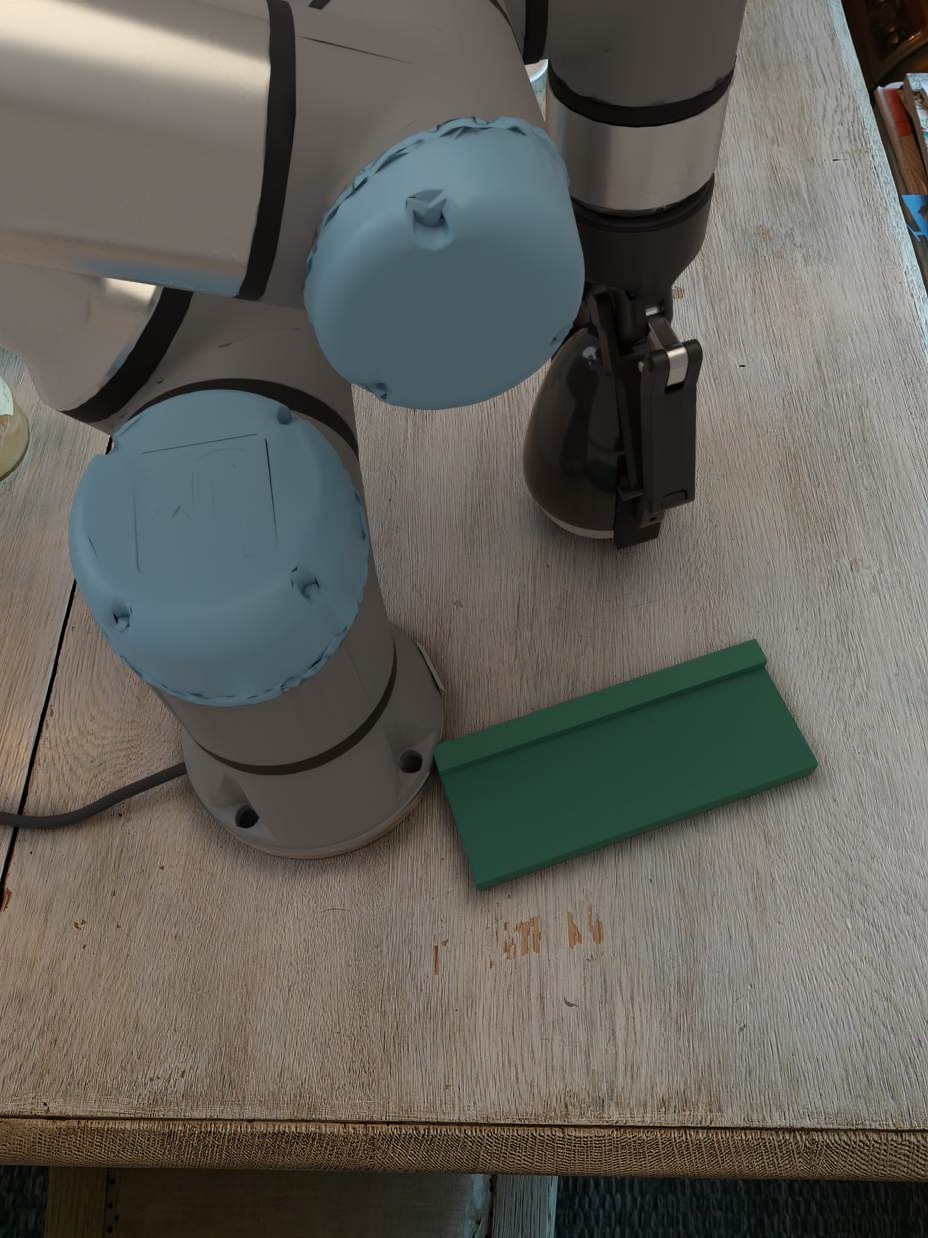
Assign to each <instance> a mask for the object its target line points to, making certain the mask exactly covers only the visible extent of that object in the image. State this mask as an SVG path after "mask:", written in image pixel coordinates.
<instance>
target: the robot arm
mask: <svg viewBox="0 0 928 1238" xmlns="http://www.w3.org/2000/svg"><path fill="white" fill-rule="evenodd" d="M747 2H748V0H0V348H1V349H3V350H5V351H7V352H9V353H12V354H14V355H16V356H18V357H20V358H21V359H22V361H23V362H24V364H25V366H26V369H27V371H28V373H29V376H30V378H31V380H32V384H33V385H34V389H35V391H36V393H37V396H38V397H39V400H40V401H41V402H42V403H43V404H44V405H46V406H47V407H49V408H50V409H53V410H54V411H57V412H59V413H61V414H63V415H65V416H68V417H69V418H72V419H74V420H76V421H78V422H81V423H83V424H85V425H88V426H89V427H92V428H93V429H96V430H98V431H100V432H102V433H104V434H106V435H108V436H109V437H110V438H111V439H112V443H113V447H112V449H111V450H110V451H109V452H108V453H107V454H95V455H93V457H92V458H91V459H90V462H89V463H88V465H87V466H86V468H85V470H84V471H83V473H82V476H81V478H80V480H79V482H78V485H77V487H76V490H75V493H74V496H73V498H72V503H71V507H70V512H69V519H68V534H67V536H68V537H67V539H68V540H67V542H68V550H69V559H70V566H71V568H72V572H73V575H74V579H75V582H76V585H77V587H78V589H79V592H80V594H81V597H82V598H83V600H84V602H85V604H86V605H87V607H88V609H89V610H90V611H91V614H92V617H93V620H94V623H95V625H96V627H97V628H98V629H99V631H101V634H102V636H103V638H104V639H105V641H106V642H107V643H108V644H109V645H110V647H111V648H112V650H113V652H114V653H115V655H116V656H117V657H118V659H120V661H122V662H123V663H124V664H125V665H126V666H127V667H128V668H130V670H132V671H133V673H135V674H136V675H137V676H138V677H139V678H140V679H141V680H142V681H143V682H144V683H145V684H146V685H147V686H148V688H149V689H150V690H151V691H152V692H153V693H154V695H155V696H156V697H157V698H158V699H159V701H160V702H161V703H162V704H163V706H164V707H165V708H166V709H167V710H168V712H169V713H170V714H171V715H172V716H173V718H174V719H175V720H176V721H177V723H178V724H179V725H180V726H181V744H182V745H181V746H182V747H181V749H182V750H181V751H182V757H183V761H181V762H179V763H177V764H174V765H171V766H169V767H166V768H165V769H163V770H162V769H161V770H160V771H158V772H155V773H153V774H150V775H148V776H146V777H143V778H141V779H139V780H136V781H134V782H132V783H128V784H127V785H125V786H123V787H122V786H121V787H120V788H118V789H116V790H114V791H112V792H110V793H108V794H106V795H105V796H102V797H100V798H98V799H97V800H95V801H93V802H91V803H89V804H87V805H85V806H83V807H80V808H78V809H75V810H72V811H69V812H65V813H60V814H54V815H53V814H52V815H38V816H37V815H23V814H16V813H11V812H6V811H2V810H1V811H0V825H4V826H9V827H16V828H23V829H35V830H37V829H39V830H41V829H43V830H44V829H54V828H62V827H67V826H71V825H75V824H78V823H80V822H83V821H86V820H88V819H91V818H93V817H95V816H97V815H99V814H101V813H103V812H105V811H106V810H108V809H111V808H112V807H114V806H116V805H117V804H121V803H122V802H124V801H126V800H128V799H130V798H132V797H135V796H137V795H140V794H142V793H144V792H146V791H149V790H151V789H153V788H156V787H159V786H161V785H163V784H165V783H168V782H171V781H173V780H175V779H177V778H180V777H183V776H184V775H187V778H188V781H189V783H190V786H191V788H192V789H193V791H194V793H195V796H196V797H197V798H198V800H199V801H200V803H201V804H202V806H203V807H204V808H205V809H206V811H207V812H208V813H209V814H210V815H211V817H212V818H213V819H214V820H215V821H216V822H217V823H218V824H219V825H220V826H221V827H222V828H224V830H225V831H227V833H229V834H230V835H232V836H233V837H234V838H236V839H237V840H238V841H239V842H242V843H243V844H245V845H247V846H249V847H251V848H253V849H255V850H258V851H259V852H263V853H266V854H269V855H271V856H275V857H281V858H287V859H296V860H317V859H326V858H330V857H335V856H340V855H343V854H347V853H350V852H353V851H356V850H359V849H361V848H363V847H365V846H367V845H369V844H371V843H373V842H375V841H377V840H378V839H380V838H382V837H383V836H385V835H386V834H388V833H389V832H390V831H392V830H393V829H394V828H396V827H397V826H398V825H400V823H402V821H403V822H404V820H405V819H406V818H407V817H408V816H409V815H410V814H411V813H412V812H413V811H414V810H415V808H416V807H417V806H418V805H419V804H420V802H421V801H422V799H423V798H424V797H425V795H426V793H427V792H428V790H429V788H431V785H432V784H433V781H434V779H435V777H436V774H437V773H438V771H437V766H436V762H435V759H434V755H433V753H434V750H435V747H436V745H438V744H441V743H444V742H446V725H447V724H446V713H445V708H444V702H443V698H442V697H443V696H442V691H443V692H444V693H447V691H446V689H445V686H444V684H443V682H442V681H441V679H440V677H439V675H438V673H437V671H436V669H435V667H434V665H433V663H432V661H431V658H430V657H429V654H428V653H427V650H426V648H425V647H424V646H423V645H422V644H421V643H419V642H418V641H416V643H417V644H416V643H415V642H414V641H413V640H412V639H411V638H410V637H409V636H408V635H407V634H406V633H405V632H403V631H402V630H400V628H398V627H397V626H395V625H394V624H393V623H392V622H390V619H389V615H388V612H387V607H386V605H385V600H384V597H383V594H382V590H381V586H380V582H379V578H378V571H377V567H376V562H375V556H374V550H373V544H372V538H371V531H370V524H369V518H368V516H369V515H368V510H367V502H366V496H365V489H364V482H363V481H364V480H363V475H362V474H363V473H362V470H361V461H360V448H359V441H358V431H357V423H356V415H355V405H354V398H353V389H352V385H356V386H357V387H359V388H361V389H363V390H365V391H367V392H369V393H370V394H373V395H374V396H375V398H376V399H377V400H378V401H379V402H383V403H385V404H388V405H390V406H393V407H394V406H395V407H399V408H404V409H408V410H409V409H410V410H421V411H442V410H448V409H449V410H450V409H457V408H462V407H469V406H473V405H476V404H480V403H483V402H486V401H489V400H492V399H493V398H495V397H498V396H500V395H502V394H505V393H506V392H508V391H510V390H512V389H514V388H515V387H518V385H520V384H522V383H523V382H525V381H526V380H527V379H529V378H530V377H531V376H533V375H534V374H535V373H537V372H538V371H539V370H540V369H542V367H543V366H544V365H545V364H546V363H547V362H548V361H549V360H550V364H551V363H552V361H553V359H554V358H555V356H556V354H557V353H558V351H559V350H560V348H561V347H562V346H563V344H564V343H565V342H566V340H567V339H568V338H569V337H570V336H571V335H572V334H573V333H574V332H575V331H576V330H578V329H579V328H580V327H582V326H583V325H584V324H586V323H588V322H589V321H590V315H591V320H592V323H593V324H594V325H595V326H596V327H597V329H598V334H599V341H600V348H601V354H602V361H603V367H604V370H605V372H606V373H608V374H609V375H611V376H612V377H614V379H615V386H616V393H617V400H618V407H619V414H620V420H621V427H622V434H623V441H624V448H625V455H626V462H627V469H628V475H625V476H622V477H621V479H620V486H617V490H618V493H619V495H618V503H617V511H616V519H615V527H614V536H613V538H612V543H613V545H614V547H615V548H616V549H615V550H616V551H617V552H619V551H621V550H624V549H628V548H631V547H634V546H637V545H640V544H644V543H646V542H649V541H652V540H655V539H658V538H659V535H660V531H661V525H662V521H663V520H664V519H665V515H666V511H667V510H670V509H675V508H678V507H680V506H683V505H686V504H690V503H692V502H693V503H694V501H695V500H696V463H697V462H696V461H697V460H696V459H697V458H696V456H697V455H696V453H697V452H696V451H697V449H696V448H697V397H698V396H697V393H698V392H697V385H698V382H699V377H700V373H701V370H702V365H703V361H704V350H703V347H702V345H701V342H700V341H699V340H698V339H697V338H692V339H689V340H688V339H687V340H685V341H682V342H681V341H680V339H679V338H678V336H677V334H676V333H675V331H674V329H673V328H672V322H673V319H674V298H673V297H674V296H673V285H674V284H675V283H676V281H677V280H678V278H679V277H680V276H681V275H682V273H683V272H684V271H685V270H686V269H687V268H688V267H689V266H690V264H691V263H692V262H694V260H695V259H696V258H697V256H698V254H699V253H700V251H701V250H702V247H703V244H704V241H705V238H706V233H707V229H708V228H707V227H708V222H709V218H710V217H709V216H710V212H711V207H712V206H711V205H712V199H713V194H714V190H715V189H714V188H715V183H716V177H715V171H716V168H717V165H718V161H719V155H720V150H721V149H720V148H721V145H722V138H723V133H724V132H723V131H724V127H725V121H726V120H725V119H726V115H727V107H728V102H729V97H730V92H731V91H730V90H732V89H733V87H734V84H735V81H736V80H735V79H736V77H735V68H736V63H737V57H738V55H737V52H738V46H739V41H740V37H741V31H742V27H743V23H744V22H743V21H744V17H745V12H746V8H747ZM544 60H547V67H546V71H545V105H544V106H545V107H544V108H545V109H544V110H545V112H544V113H545V114H544V115H543V113H542V109H541V108H540V105H539V102H538V99H537V96H536V93H535V90H534V88H533V85H532V82H531V79H530V76H529V74H528V70H527V68H526V66H529V65H534V64H535V65H536V64H539V63H540V61H544ZM589 313H590V315H589ZM647 342H648V344H649V349H646V350H642V351H639V352H636V353H632V354H629V355H626V356H622V357H619V352H618V349H620V350H624V349H628V348H632V347H635V346H638V345H642V344H645V343H647ZM441 690H442V691H441Z"/></svg>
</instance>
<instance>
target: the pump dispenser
mask: <svg viewBox="0 0 928 1238" xmlns="http://www.w3.org/2000/svg"><path fill="white" fill-rule="evenodd" d="M589 315H590V313H589ZM646 349H649V344H648V342H647V343H645V344H642V345H638V346H635V347H632V348H628V349H624V350H620V349H618V352H619V357H622V356H626V355H629V354H632V353H636V352H639V351H642V350H646ZM522 447H523V448H522V475H523V478H524V483H525V486H526V487H527V489H528V492H529V493H530V495H531V496H532V498H533V500H534V501H535V502H536V503H537V504H538V506H539V507H540V509H541V511H543V512H544V513H545V515H546V516H547V517H548V518H549V519H550V520H551V521H552V522H554V523H556V525H557V526H559V527H561V528H563V529H564V530H566V531H568V532H570V533H572V534H574V535H577V536H581V537H584V538H590V539H602V540H603V539H604V540H605V539H613V536H614V527H615V519H616V511H617V503H618V495H619V493H618V490H617V486H620V479H621V477H622V476H625V475H628V469H627V462H626V455H625V448H624V441H623V434H622V427H621V420H620V414H619V407H618V400H617V393H616V386H615V379H614V377H612V376H611V375H609V374H608V373H606V372H605V370H604V367H603V361H602V354H601V348H600V341H599V334H598V329H597V327H596V326H595V325H594V324H593V323H592V320H591V315H590V321H589V322H588V323H586V324H584V325H583V326H582V327H580V328H579V329H578V330H576V331H575V332H574V333H573V334H572V335H571V336H570V337H569V338H568V339H567V340H566V342H565V343H564V344H563V346H562V347H561V348H560V350H559V351H558V353H557V354H556V356H555V358H554V359H553V361H552V363H551V362H550V364H549V366H548V368H547V370H546V372H545V375H544V377H543V379H542V382H541V384H540V385H539V388H538V391H537V393H536V396H535V399H534V402H533V405H532V408H531V411H530V415H529V419H528V422H527V427H526V431H525V436H524V441H523V446H522Z"/></svg>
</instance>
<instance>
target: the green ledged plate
mask: <svg viewBox="0 0 928 1238" xmlns="http://www.w3.org/2000/svg"><path fill="white" fill-rule="evenodd" d="M767 663H768V658H767V657H766V654H765V653H764V651H763V649H762V647H761V646H760V644H759V641H758V640H757V639H756V638H752V639H750V640H746V641H743V642H740V643H737V644H734V645H731V646H728V647H725V648H722V649H719V650H716V651H713V652H710V653H707V654H704V655H701V656H699V657H695V658H691V659H688V660H685V661H683V662H680V663H677V664H674V665H671V666H668V667H666V668H661V669H659V670H656V671H653V672H649V673H647V674H643V675H641V676H638V677H635V678H633V679H630V680H627V681H623V682H620V683H618V684H617V683H616V684H615V685H611V686H608V687H605V688H602V689H599V690H596V691H593V692H590V693H588V694H585V695H582V696H581V695H580V696H578V697H576V698H573V699H569V700H566V701H564V702H560V703H557V704H555V705H552V706H549V707H545V708H543V709H540V710H539V709H538V710H536V711H534V712H531V713H528V714H524V715H522V716H518V717H515V718H512V719H509V720H506V721H504V722H501V723H497V724H494V725H492V726H488V727H486V728H482V729H479V730H477V731H474V732H471V733H468V734H465V735H461V736H459V737H456V738H453V739H449V740H447V741H445V742H444V743H441V744H438V745H436V747H435V750H434V753H433V755H434V759H435V762H436V766H437V774H438V776H439V779H440V783H441V786H442V788H443V790H444V794H445V797H446V800H447V803H448V806H449V810H450V812H451V815H452V819H453V821H454V824H455V827H456V831H457V833H458V837H459V839H460V842H461V845H462V848H463V851H464V854H465V856H466V860H467V863H468V865H469V868H470V872H471V874H472V877H473V880H474V884H475V887H476V889H477V891H478V892H481V891H483V890H487V889H488V888H491V887H494V886H497V885H500V884H503V883H505V882H508V881H511V880H514V879H518V878H520V877H523V876H526V875H529V874H531V873H535V872H537V871H540V870H542V869H546V868H548V867H551V866H554V865H557V864H560V863H563V862H565V861H568V860H571V859H575V858H577V857H580V856H582V855H585V854H588V853H591V852H594V851H596V850H600V849H603V848H606V847H608V846H611V845H614V844H617V843H619V842H622V841H625V840H629V839H631V838H633V837H636V836H639V835H642V834H645V833H648V832H651V831H654V830H656V829H659V828H662V827H665V826H667V825H668V826H669V825H670V824H674V823H676V822H679V821H682V820H685V819H687V818H690V817H694V816H696V815H699V814H701V813H705V812H708V811H710V810H713V809H716V808H719V807H721V806H722V807H723V806H725V805H728V804H730V803H734V802H736V801H739V800H742V799H744V798H747V797H750V796H753V795H756V794H758V793H761V792H764V791H767V790H770V789H773V788H775V787H776V788H777V787H778V786H781V785H784V784H788V783H790V782H793V781H795V780H798V779H799V780H800V779H801V778H804V777H806V776H810V775H812V774H813V773H814V772H815V771H816V769H817V768H818V767H819V762H818V760H817V759H816V756H815V755H814V753H813V751H812V750H811V747H810V746H809V744H808V742H807V740H806V739H805V737H804V735H803V733H802V731H801V730H800V728H799V726H798V724H797V721H795V719H794V717H793V714H792V713H791V711H790V710H789V708H788V706H787V704H786V702H785V700H784V699H783V697H782V695H781V693H780V691H779V690H778V688H777V686H776V684H775V683H774V681H773V679H772V677H771V675H770V673H769V672H768V670H767V668H766V665H767Z"/></svg>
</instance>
